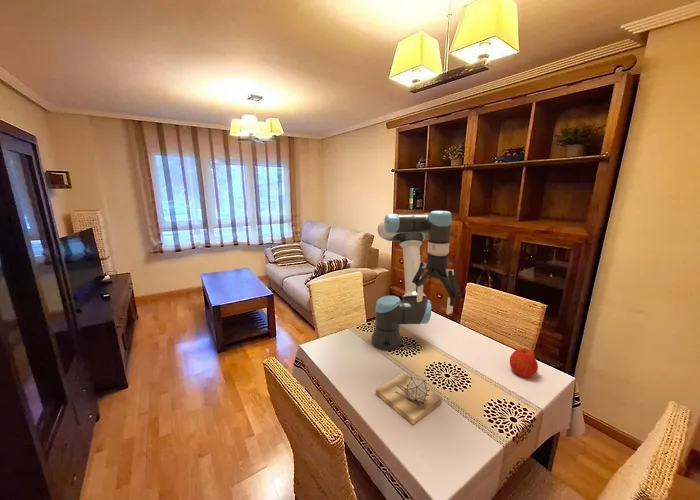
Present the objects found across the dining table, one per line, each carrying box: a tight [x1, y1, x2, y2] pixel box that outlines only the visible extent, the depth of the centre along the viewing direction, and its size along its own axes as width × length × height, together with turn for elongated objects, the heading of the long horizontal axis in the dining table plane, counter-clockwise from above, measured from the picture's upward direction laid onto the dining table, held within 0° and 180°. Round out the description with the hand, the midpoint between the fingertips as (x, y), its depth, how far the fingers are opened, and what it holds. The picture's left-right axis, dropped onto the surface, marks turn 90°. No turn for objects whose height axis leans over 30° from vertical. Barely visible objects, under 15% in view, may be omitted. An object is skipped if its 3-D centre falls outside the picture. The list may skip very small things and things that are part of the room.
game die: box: [404, 376, 431, 404], centre depth 100 cm, size 9×8×10 cm
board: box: [375, 372, 443, 425], centre depth 105 cm, size 18×16×2 cm
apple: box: [509, 347, 539, 378], centre depth 118 cm, size 10×10×10 cm
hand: (433, 306), depth 108 cm, fingers open, 13 cm apart
